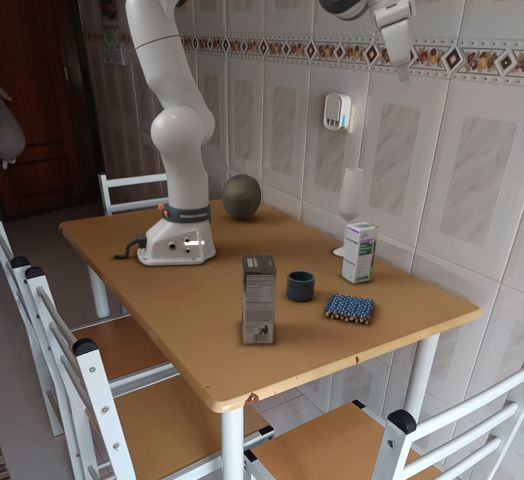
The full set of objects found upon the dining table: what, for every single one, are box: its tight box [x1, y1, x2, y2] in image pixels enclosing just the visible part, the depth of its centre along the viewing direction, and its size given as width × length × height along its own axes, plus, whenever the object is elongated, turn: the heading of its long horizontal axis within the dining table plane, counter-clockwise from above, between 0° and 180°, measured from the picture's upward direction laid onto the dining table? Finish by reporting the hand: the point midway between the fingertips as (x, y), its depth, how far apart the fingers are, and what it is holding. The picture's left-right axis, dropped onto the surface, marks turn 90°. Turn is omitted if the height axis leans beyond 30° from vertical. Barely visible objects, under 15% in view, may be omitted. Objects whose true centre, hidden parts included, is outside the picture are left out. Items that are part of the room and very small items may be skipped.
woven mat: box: [323, 293, 376, 325], centre depth 114 cm, size 10×11×2 cm
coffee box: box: [241, 253, 278, 345], centre depth 101 cm, size 9×6×16 cm
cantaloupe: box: [221, 173, 262, 220], centre depth 169 cm, size 14×14×15 cm
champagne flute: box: [332, 167, 364, 258], centre depth 141 cm, size 7×7×24 cm
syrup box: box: [341, 221, 379, 285], centre depth 128 cm, size 6×6×14 cm
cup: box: [285, 270, 316, 303], centre depth 120 cm, size 7×7×5 cm
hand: (406, 88), depth 106 cm, fingers open, 8 cm apart
